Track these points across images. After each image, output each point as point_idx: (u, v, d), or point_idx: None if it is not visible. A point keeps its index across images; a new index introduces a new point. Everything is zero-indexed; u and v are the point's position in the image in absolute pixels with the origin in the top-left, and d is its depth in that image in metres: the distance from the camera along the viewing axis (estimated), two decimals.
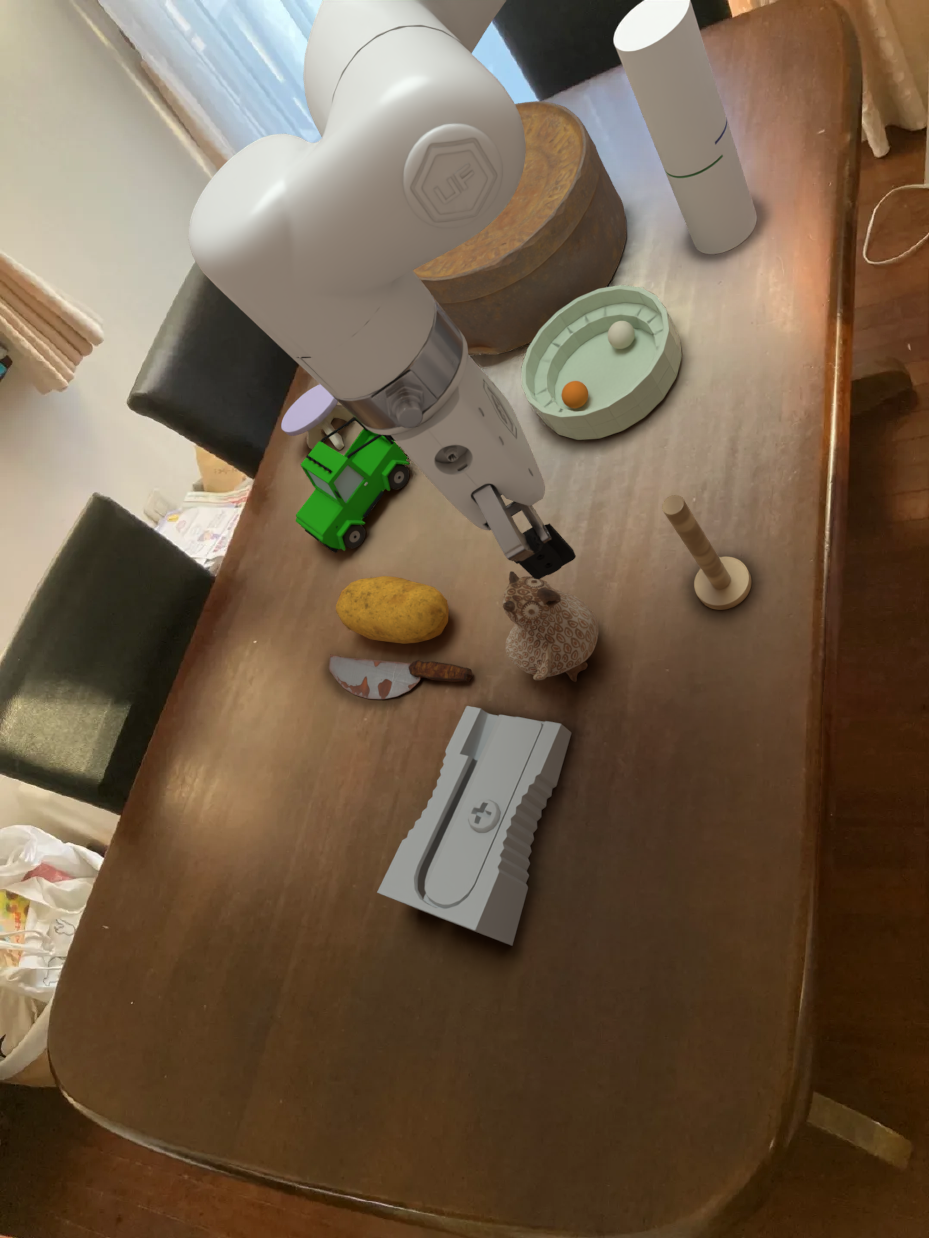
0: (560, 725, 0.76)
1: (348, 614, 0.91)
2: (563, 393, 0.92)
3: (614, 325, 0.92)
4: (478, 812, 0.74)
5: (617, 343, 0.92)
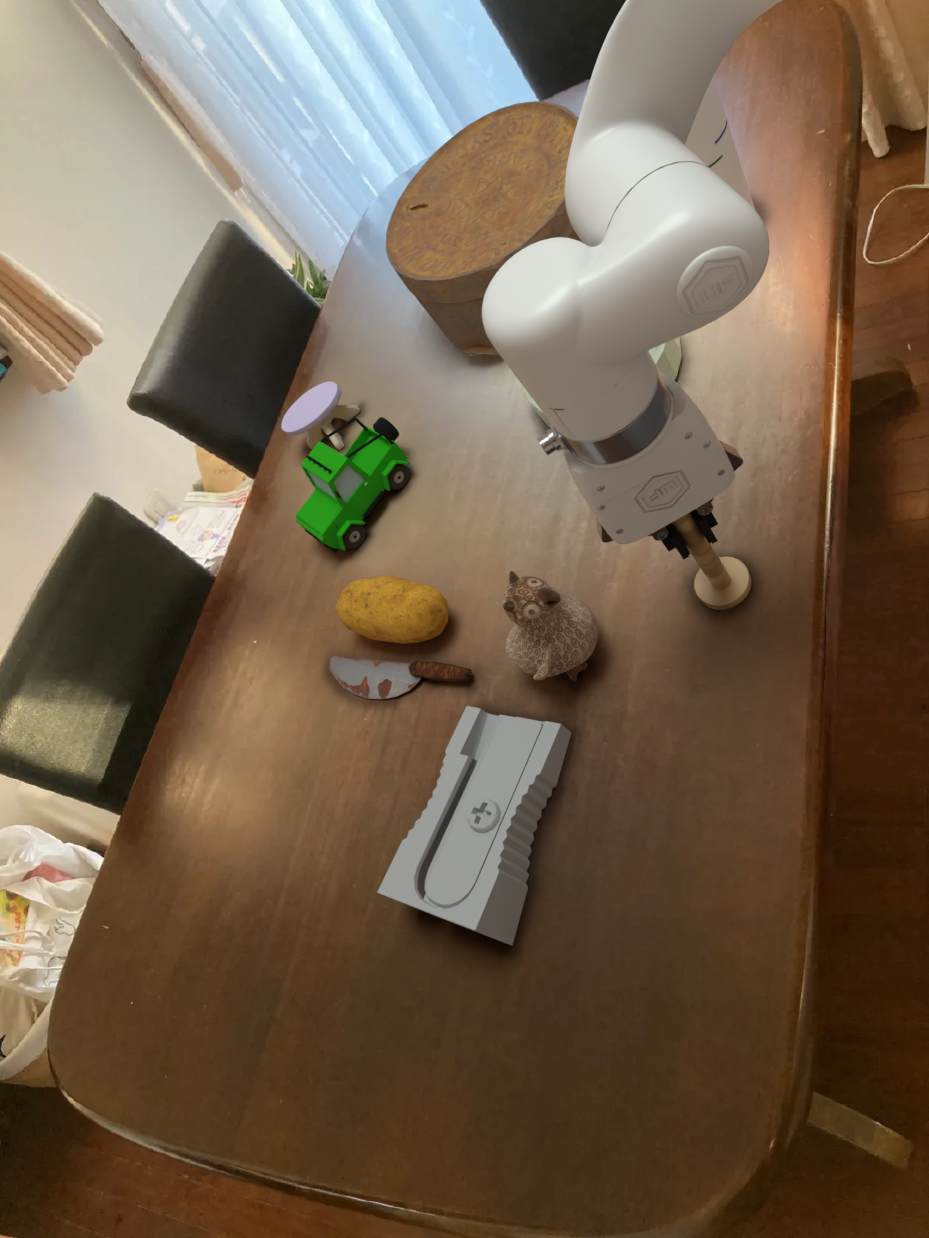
0: (560, 725, 0.76)
1: (348, 614, 0.91)
2: None
3: None
4: (478, 812, 0.74)
5: None
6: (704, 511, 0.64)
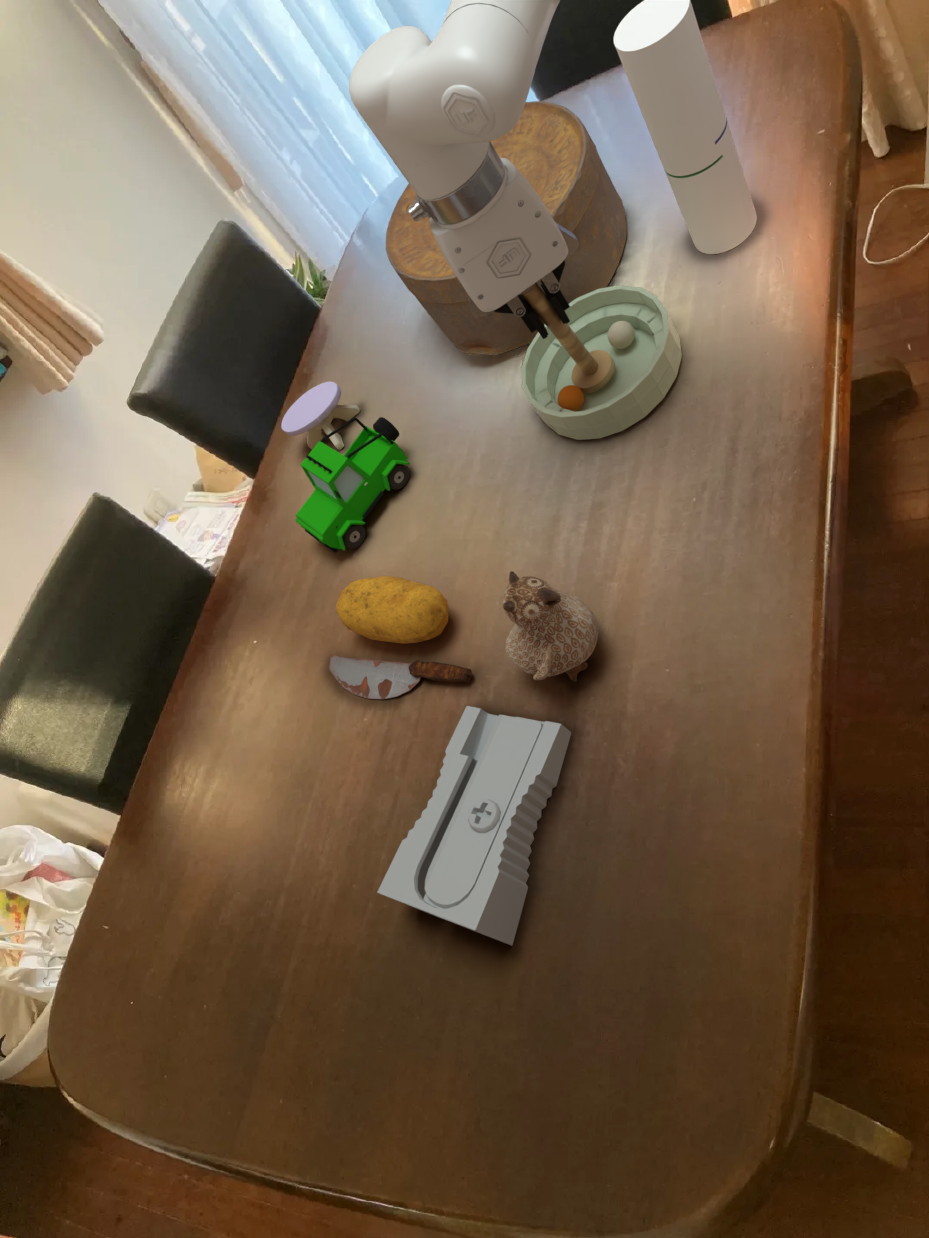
0: (560, 725, 0.76)
1: (348, 614, 0.91)
2: (558, 402, 0.93)
3: (614, 325, 0.92)
4: (478, 812, 0.74)
5: (617, 343, 0.92)
6: (553, 289, 0.81)
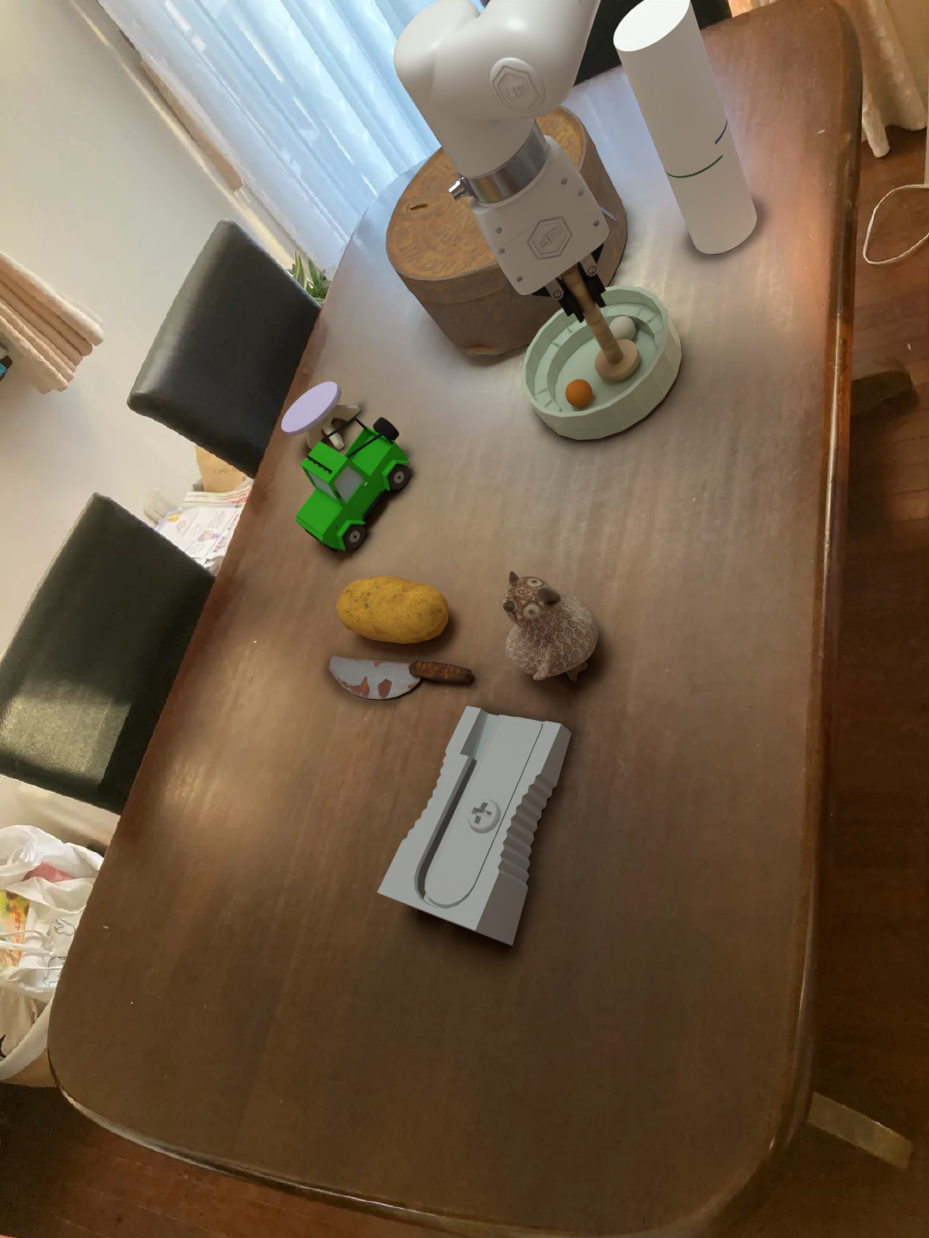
0: (560, 725, 0.76)
1: (348, 614, 0.91)
2: (568, 387, 0.92)
3: (617, 317, 0.92)
4: (478, 812, 0.74)
5: (617, 334, 0.92)
6: (591, 272, 0.80)
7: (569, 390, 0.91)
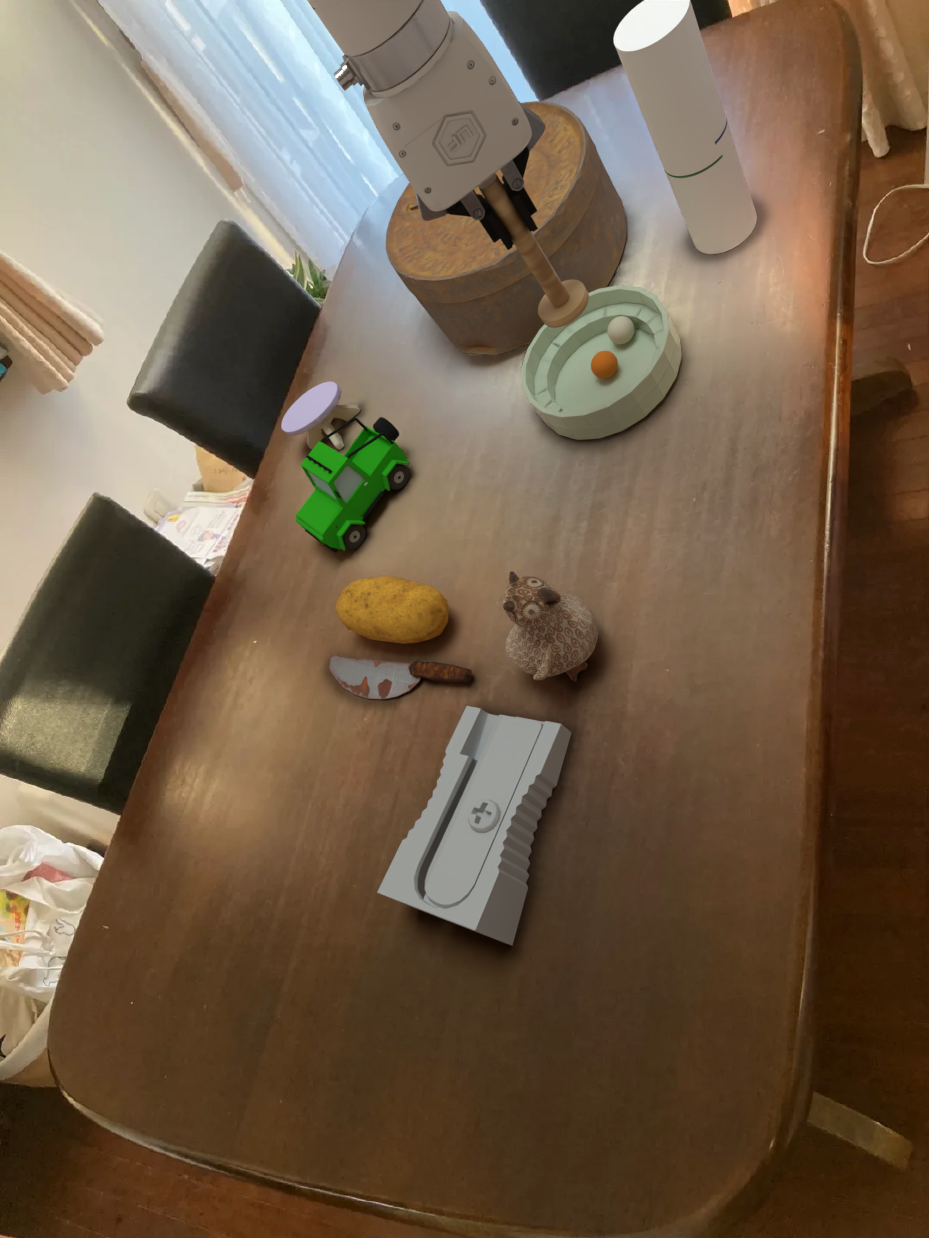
0: (560, 725, 0.76)
1: (348, 614, 0.91)
2: None
3: (615, 318, 0.92)
4: (478, 812, 0.74)
5: (614, 334, 0.92)
6: (516, 186, 0.68)
7: None
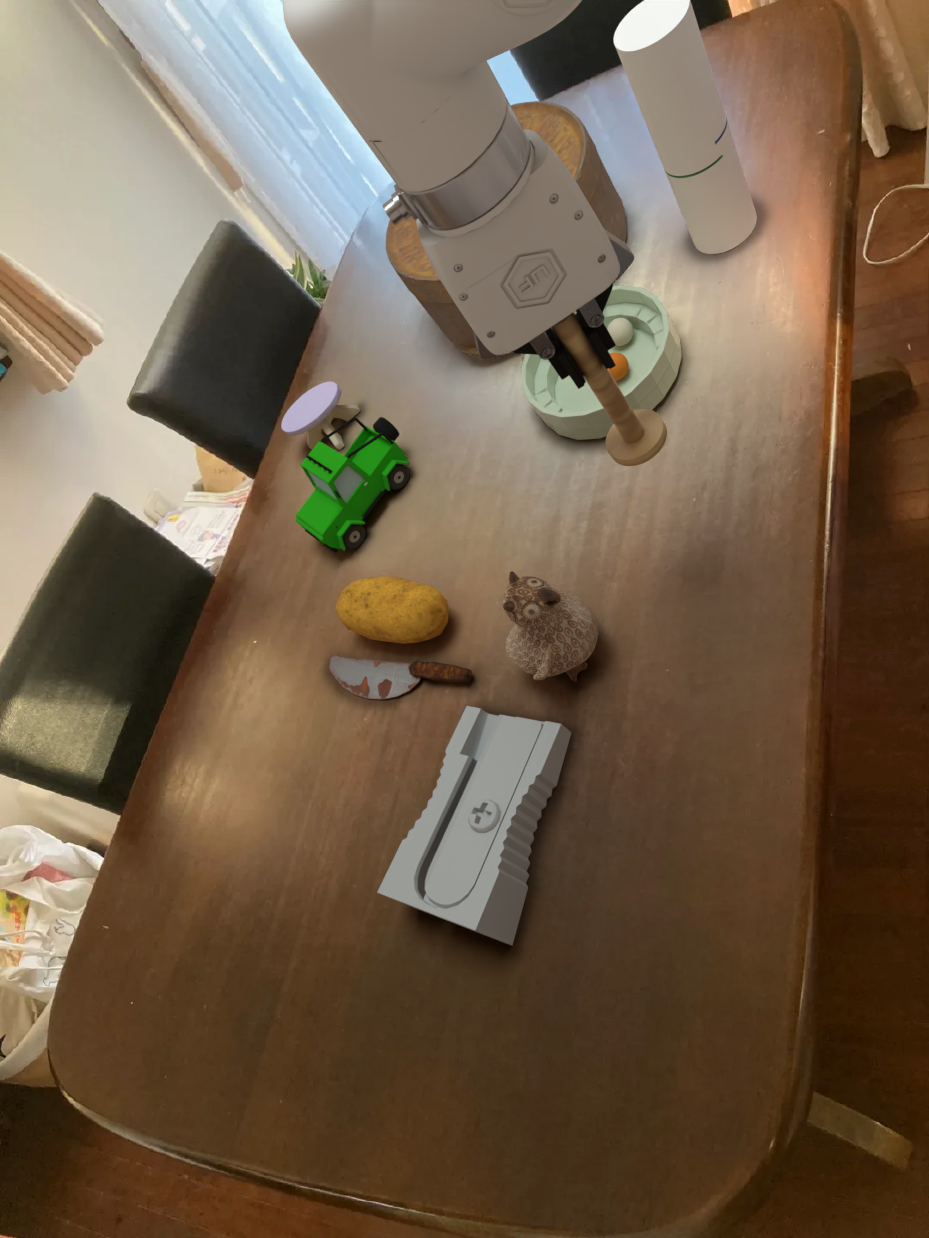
0: (560, 725, 0.76)
1: (348, 614, 0.91)
2: None
3: (613, 321, 0.92)
4: (478, 812, 0.74)
5: (613, 338, 0.92)
6: (594, 322, 0.57)
7: None
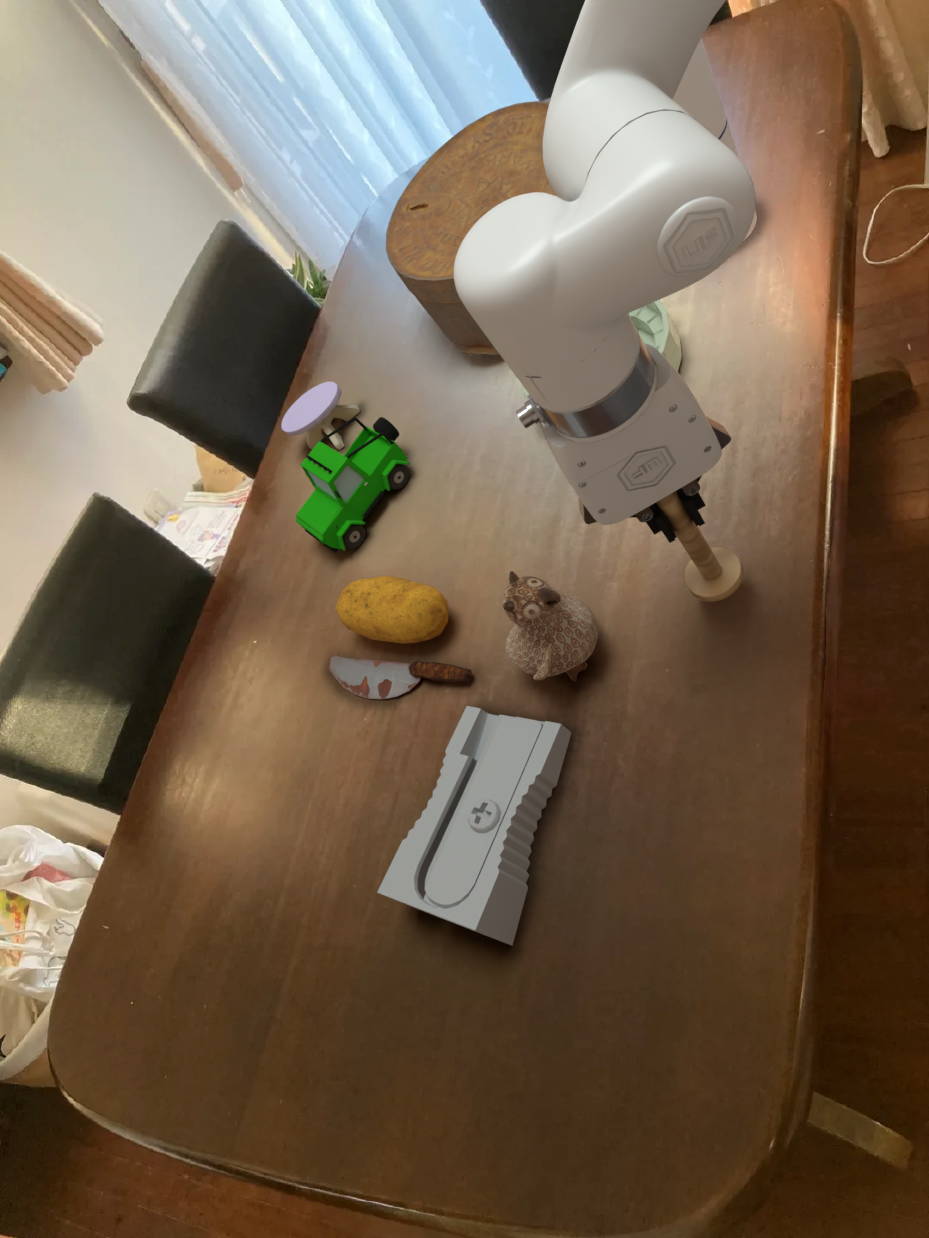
0: (560, 725, 0.76)
1: (348, 614, 0.91)
2: None
3: None
4: (478, 812, 0.74)
5: None
6: (691, 491, 0.62)
7: None
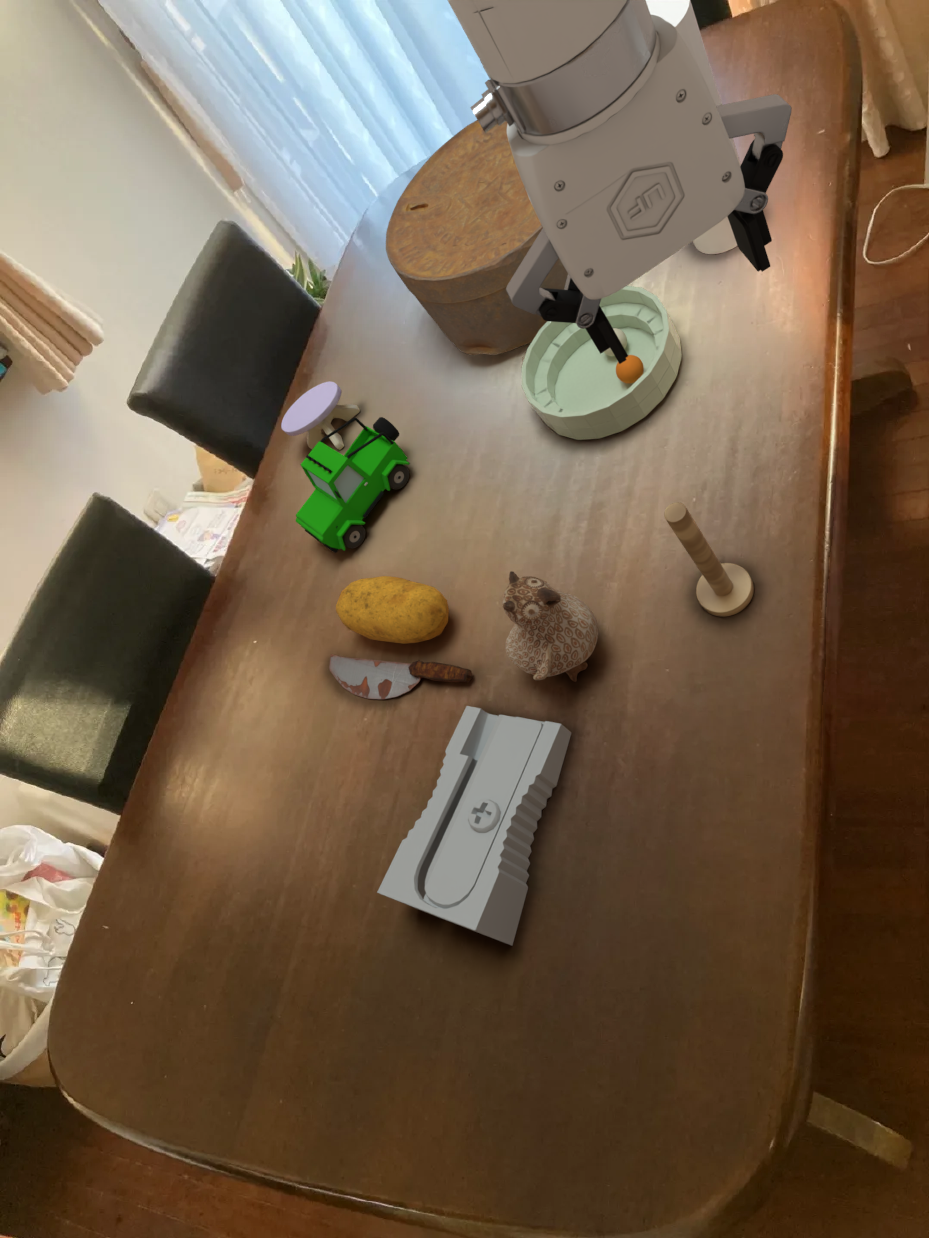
0: (560, 725, 0.76)
1: (348, 614, 0.91)
2: (633, 355, 0.89)
3: None
4: (478, 812, 0.74)
5: None
6: (758, 205, 0.46)
7: None
